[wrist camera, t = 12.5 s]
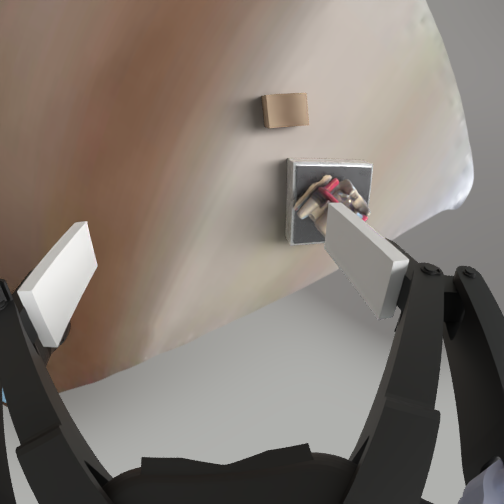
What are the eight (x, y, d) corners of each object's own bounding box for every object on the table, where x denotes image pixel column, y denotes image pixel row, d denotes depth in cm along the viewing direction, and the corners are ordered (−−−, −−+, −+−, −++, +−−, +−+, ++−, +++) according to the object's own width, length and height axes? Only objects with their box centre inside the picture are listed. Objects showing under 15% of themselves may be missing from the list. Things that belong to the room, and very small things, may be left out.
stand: (285, 236, 53) (291, 246, 50) (287, 158, 47) (294, 162, 43) (355, 232, 55) (365, 241, 51) (363, 159, 48) (374, 164, 45)
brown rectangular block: (264, 126, 44) (269, 128, 40) (261, 96, 42) (266, 95, 38) (301, 123, 44) (309, 125, 41) (298, 93, 42) (306, 92, 39)
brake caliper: (386, 204, 46) (384, 262, 39) (335, 225, 54) (324, 279, 47) (348, 154, 41) (341, 209, 35) (295, 183, 49) (277, 236, 42)
